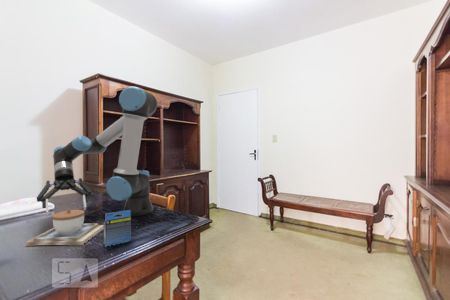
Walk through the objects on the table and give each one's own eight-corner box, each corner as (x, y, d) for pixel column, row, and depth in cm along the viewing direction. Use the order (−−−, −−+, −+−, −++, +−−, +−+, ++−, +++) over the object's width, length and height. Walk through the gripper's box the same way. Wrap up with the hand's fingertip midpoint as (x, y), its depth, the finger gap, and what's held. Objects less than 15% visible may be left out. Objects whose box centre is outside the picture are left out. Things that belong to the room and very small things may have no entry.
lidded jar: (73, 237, 87) (73, 213, 87) (45, 237, 87) (45, 213, 87) (90, 227, 98) (90, 205, 97) (65, 227, 98) (65, 205, 98)
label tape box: (128, 238, 91) (128, 207, 90) (131, 241, 87) (130, 209, 87) (103, 243, 85) (103, 211, 85) (105, 247, 82) (105, 213, 82)
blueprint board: (104, 228, 101) (104, 222, 101) (82, 245, 84) (82, 238, 84) (57, 229, 100) (57, 223, 100) (25, 246, 83) (25, 239, 83)
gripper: (92, 175, 121) (98, 210, 109) (30, 180, 105) (29, 221, 94) (94, 166, 116) (100, 201, 105) (29, 169, 101) (28, 211, 90)
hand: (66, 211), depth 99 cm, fingers open, 13 cm apart
